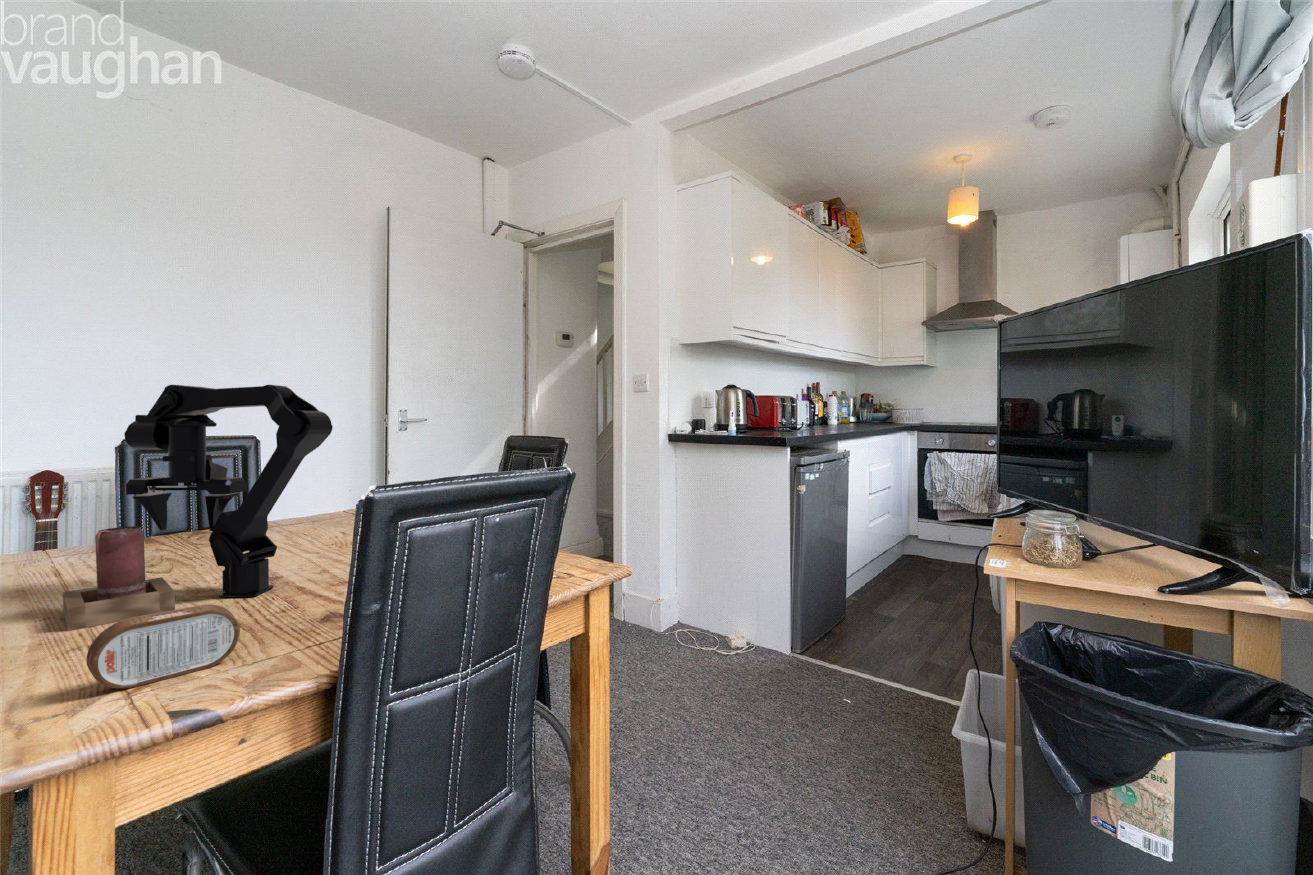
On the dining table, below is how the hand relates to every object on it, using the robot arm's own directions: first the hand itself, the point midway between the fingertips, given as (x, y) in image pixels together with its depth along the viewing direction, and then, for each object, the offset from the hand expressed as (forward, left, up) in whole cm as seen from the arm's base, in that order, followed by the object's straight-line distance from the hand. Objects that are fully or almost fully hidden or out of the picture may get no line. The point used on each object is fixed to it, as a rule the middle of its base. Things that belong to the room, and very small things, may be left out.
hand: (188, 530), depth 110 cm
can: (+3, +12, -12) cm, 17 cm away
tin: (-25, +39, -12) cm, 48 cm away
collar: (+3, +12, -12) cm, 17 cm away
